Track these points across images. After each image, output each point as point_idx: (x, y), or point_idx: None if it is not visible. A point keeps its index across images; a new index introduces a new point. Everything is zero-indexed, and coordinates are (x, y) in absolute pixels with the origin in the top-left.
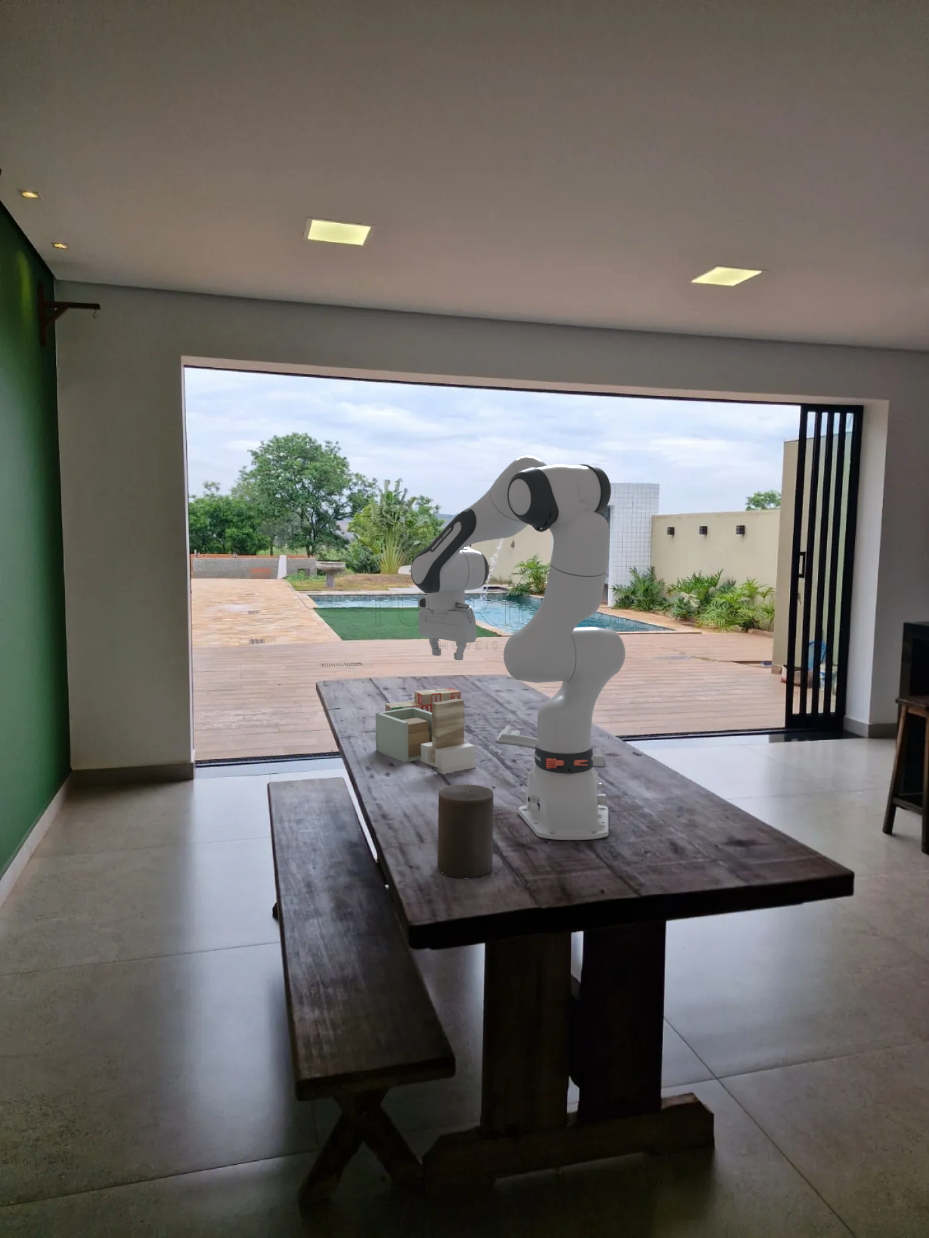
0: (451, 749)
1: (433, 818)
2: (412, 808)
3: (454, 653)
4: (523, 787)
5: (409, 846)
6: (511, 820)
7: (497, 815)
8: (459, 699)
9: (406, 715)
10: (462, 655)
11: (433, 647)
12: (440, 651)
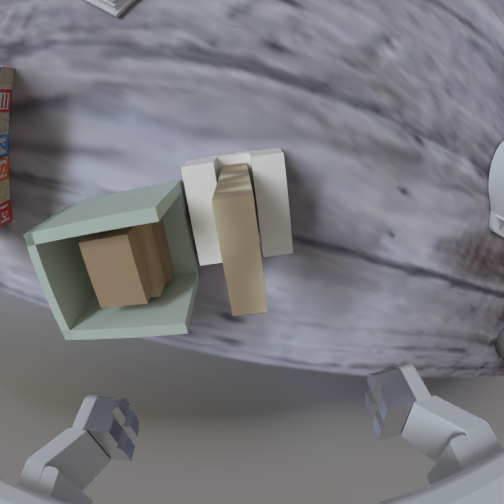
0: (284, 224)
1: (436, 325)
2: (396, 336)
3: (383, 434)
4: (430, 147)
5: (461, 362)
6: (494, 249)
7: (478, 255)
8: (227, 201)
9: (50, 256)
10: (420, 385)
11: (104, 463)
12: (114, 417)
